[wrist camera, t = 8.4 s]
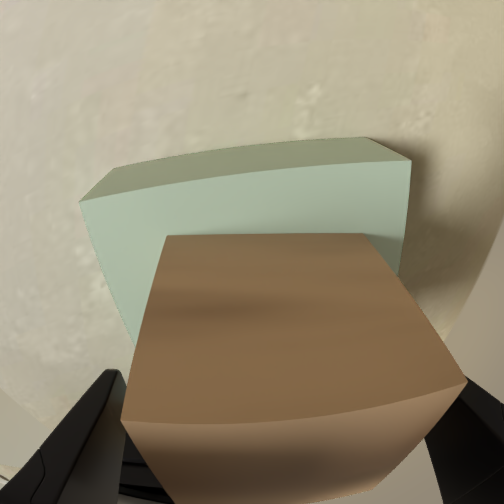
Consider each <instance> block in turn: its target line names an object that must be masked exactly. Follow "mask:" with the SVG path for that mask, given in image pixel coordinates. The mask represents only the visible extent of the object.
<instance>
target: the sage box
mask: <svg viewBox="0 0 504 504" xmlns="http://www.w3.org/2000/svg"><path fill="white" fill-rule="evenodd" d="M410 176H411V160H410V159H408V158H406V157H404V156H402V155H400V154H398V153H396V152H394V151H392V150H391V149H389V148H387V147H385V146H383V145H381V144H379V143H376V142H374V141H372V140H370V139H368V138H366V137H358V138H334V139H316V140H302V141H290V142H278V143H268V144H259V145H250V146H241V147H233V148H226V149H218V150H211V151H204V152H198V153H191V154H185V155H179V156H173V157H168V158H162V159H157V160H152V161H146V162H141V163H136V164H132V165H127V166H122V167H118V168H114V169H112V170H111V171H110V172H109V173H108V174H107V175H106V176H105V177H104V178H103V179H102V180H101V181H100V182H99V183H97V184H96V185H95V186H94V187H93V188H92V189H91V190H90V191H89V192H88V193H87V194H86V195H85V196H84V197H83V198H82V199H81V200H80V201H79V205H80V208H81V212H82V215H83V218H84V221H85V224H86V227H87V230H88V233H89V236H90V239H91V242H92V245H93V248H94V250H95V253H96V256H97V259H98V261H99V264H100V267H101V269H102V272H103V274H104V277H105V280H106V282H107V285H108V287H109V290H110V292H111V294H112V297H113V299H114V302H115V304H116V306H117V309H118V311H119V313H120V315H121V318H122V320H123V322H124V324H125V327H126V329H127V331H128V333H129V335H130V337H131V340H132V342H133V344H134V346H135V348H136V344H137V340H138V336H139V332H140V328H141V324H142V320H143V316H144V312H145V308H146V304H147V301H148V297H149V293H150V290H151V286H152V283H153V279H154V276H155V272H156V269H157V265H158V262H159V259H160V255H161V252H162V249H163V246H164V242H165V239H166V236H167V235H210V234H284V233H363V234H364V235H365V236H366V237H367V239H368V240H369V241H370V242H371V244H372V245H373V246H374V247H375V249H376V250H377V251H378V253H379V254H380V255H381V256H382V258H383V259H384V260H385V261H386V263H387V264H388V265H389V267H390V268H391V269H392V271H393V272H394V273H395V275H396V276H397V277H398V272H399V266H400V260H401V254H402V248H403V241H404V234H405V226H406V218H407V209H408V199H409V189H410Z"/></svg>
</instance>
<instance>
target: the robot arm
mask: <svg viewBox="0 0 504 504" xmlns="http://www.w3.org/2000/svg"><path fill="white" fill-rule="evenodd" d="M464 376H465V375H464ZM465 377H466V376H465ZM466 379H467V381H468V383H467V384H466V386H465V387H464V388H463V390H462V391H461V392H460V394H459V395H458V397H457V398H456V399H455V401H454V402H453V403H452V404H451V406H450V407H449V408H448V410H447V411H446V412H445V413H444V415H443V416H442V417H441V418H440V420H439V421H438V422H437V423H436V424H435V426H434V427H433V428H432V429H431V430H430V431H429V433H428V434H427V435H426V436H425V437H424V439H425V442H426V445H427V448H428V451H429V455H430V458H431V461H432V464H433V468H434V471H435V475H436V478H437V482H438V485H439V488H440V493H441V496H442V500H443V504H504V404H503V403H500V401H499V400H497V399H496V398H495V397H493V396H492V395H491V394H489V393H488V392H487V391H485V390H484V389H483V388H481V387H480V386H479V385H477V384H476V383H474V382H473V381H472V380H470V379H469V378H467V377H466ZM126 388H127V386H126V384H125V381H124V379H123V377H122V374H121V372H120V371H119V370H117V369H106V370H104V372H103V373H102V374H101V375H100V376H99V377H98V378H97V380H96V381H95V382H94V383H93V384H92V385H91V387H90V388H89V389H88V390H87V391H86V392H85V394H84V395H83V396H82V397H81V398H80V399H79V401H78V402H77V403H76V404H75V405H74V407H73V408H72V409H71V410H70V411H69V412H68V414H67V415H66V416H65V417H64V418H63V420H62V421H61V422H60V423H59V424H58V426H57V427H56V428H55V429H54V430H53V432H52V433H51V434H50V435H49V437H48V438H47V439H46V440H45V441H44V443H43V444H42V445H41V446H40V449H38V450H37V451H36V452H35V453H34V455H33V456H32V457H31V458H30V459H29V461H28V462H27V463H26V464H25V465H24V467H23V468H22V469H21V470H20V471H19V472H18V473H17V474H16V475H15V476H14V477H13V478H12V479H11V480H10V481H9V482H8V483H7V484H6V485H5V486H4V487H3V488H2V489H1V490H0V504H175V503H174V501H173V500H172V499H171V497H170V496H169V495H168V493H167V492H166V491H165V489H164V488H163V487H162V485H161V484H160V482H159V481H158V479H157V478H156V477H155V475H154V474H153V472H152V471H151V469H150V468H149V466H148V465H147V463H146V462H145V460H144V459H143V457H142V456H141V454H140V452H139V451H138V449H137V448H136V446H135V444H134V443H133V441H132V439H131V438H130V436H129V434H128V433H127V431H126V429H125V428H124V426H123V424H122V422H121V421H120V419H121V414H122V408H123V403H124V398H125V393H126Z"/></svg>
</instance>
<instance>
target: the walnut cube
mask: <svg viewBox="0 0 504 504" xmlns="http://www.w3.org/2000/svg"><path fill="white" fill-rule="evenodd" d="M467 383H468V381H467V379H466V377H465V376H464V374H463V372H462V371H461V369H460V368H459V366H458V364H457V363H456V361H455V360H454V358H453V356H452V355H451V353H450V352H449V350H448V349H447V347H446V346H445V344H444V343H443V341H442V340H441V338H440V337H439V335H438V334H437V332H436V331H435V329H434V328H433V326H432V325H431V323H430V322H429V320H428V319H427V317H426V316H425V315H424V313H423V312H422V310H421V309H420V307H419V306H418V305H417V303H416V302H415V300H414V299H413V298H412V296H411V295H410V293H409V292H408V291H407V289H406V288H405V287H404V285H403V284H402V283H401V281H400V280H399V279H398V277H397V276H396V275H395V273H394V272H393V271H392V269H391V268H390V267H389V265H388V264H387V263H386V261H385V260H384V259H383V258H382V256H381V255H380V254H379V253H378V251H377V250H376V249H375V247H374V246H373V245H372V244H371V242H370V241H369V240H368V239H367V237H366V236H365V235H364V234H363V233H284V234H210V235H167V236H166V239H165V242H164V246H163V249H162V252H161V255H160V259H159V262H158V265H157V269H156V272H155V276H154V279H153V283H152V286H151V290H150V293H149V297H148V301H147V304H146V308H145V312H144V316H143V320H142V324H141V328H140V332H139V336H138V340H137V344H136V348H135V352H134V357H133V361H132V365H131V370H130V374H129V379H128V384H127V388H126V393H125V398H124V403H123V408H122V414H121V419H120V421H121V422H122V424H123V426H124V428H125V429H126V431H127V433H128V434H129V436H130V438H131V439H132V441H133V443H134V444H135V446H136V448H137V449H138V451H139V452H140V454H141V456H142V457H143V459H144V460H145V462H146V463H147V465H148V466H149V468H150V469H151V471H152V472H153V474H154V475H155V477H156V478H157V479H158V481H159V482H160V484H161V485H162V487H163V488H164V489H165V491H166V492H167V493H168V495H169V496H170V497H171V499H172V500H173V501H174V503H175V504H307V503H314V502H319V501H324V500H330V499H335V498H340V497H344V496H349V495H353V494H357V493H361V492H365V491H369V490H372V489H373V488H374V487H375V486H376V485H378V484H379V483H380V482H381V481H382V480H383V479H384V478H385V477H386V476H387V475H388V474H389V473H391V471H392V470H393V469H395V468H396V466H398V465H399V464H400V463H401V461H403V460H404V459H405V458H406V457H407V455H408V454H409V453H410V452H411V451H412V450H413V449H414V448H415V447H416V446H417V445H418V444H419V443H420V442H421V440H422V439H423V438H424V437H425V436H426V435H427V434H428V433H429V431H430V430H431V429H432V428H433V427H434V426H435V424H436V423H437V422H438V421H439V420H440V418H441V417H442V416H443V415H444V413H445V412H446V411H447V410H448V408H449V407H450V406H451V404H452V403H453V402H454V401H455V399H456V398H457V397H458V395H459V394H460V392H461V391H462V390H463V388H464V387H465V386H466V384H467Z"/></svg>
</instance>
